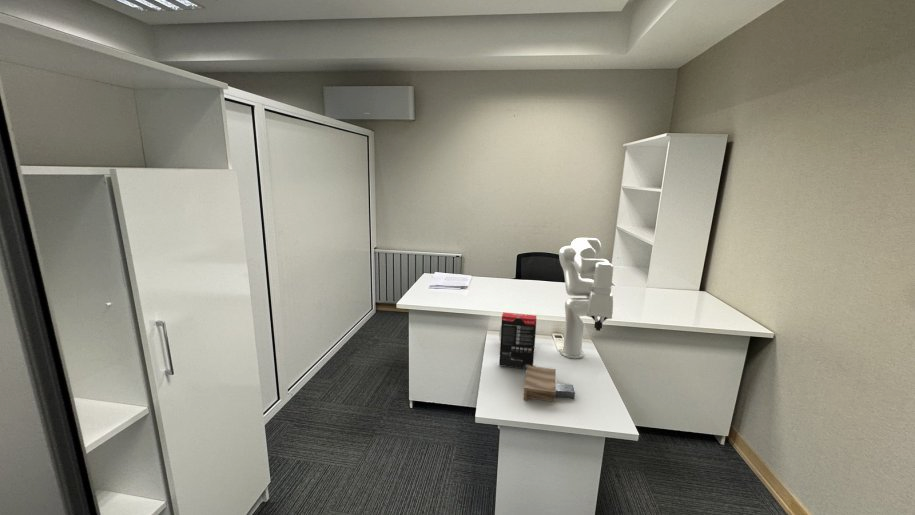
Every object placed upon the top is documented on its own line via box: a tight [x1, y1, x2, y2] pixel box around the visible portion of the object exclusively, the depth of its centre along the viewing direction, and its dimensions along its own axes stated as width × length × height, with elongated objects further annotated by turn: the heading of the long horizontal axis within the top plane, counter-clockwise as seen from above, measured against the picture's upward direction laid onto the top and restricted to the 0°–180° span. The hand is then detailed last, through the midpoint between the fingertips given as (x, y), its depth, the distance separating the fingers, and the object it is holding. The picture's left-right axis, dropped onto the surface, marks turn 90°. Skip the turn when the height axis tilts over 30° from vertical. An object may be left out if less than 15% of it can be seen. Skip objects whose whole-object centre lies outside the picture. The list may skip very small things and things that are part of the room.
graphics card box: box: [498, 312, 537, 370], centre depth 187 cm, size 17×7×27 cm, turn 79°
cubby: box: [523, 365, 557, 402], centre depth 167 cm, size 20×13×6 cm, turn 165°
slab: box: [555, 383, 576, 400], centre depth 165 cm, size 16×6×4 cm, turn 82°
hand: (597, 329), depth 168 cm, fingers closed
